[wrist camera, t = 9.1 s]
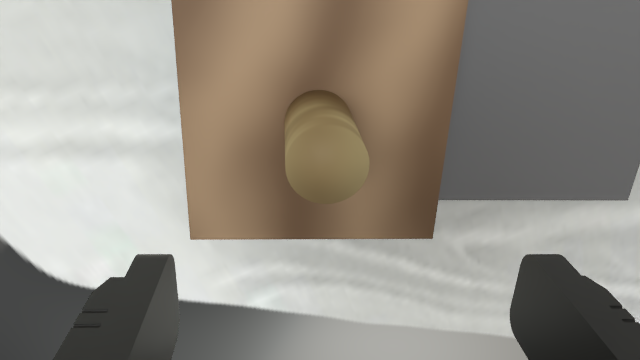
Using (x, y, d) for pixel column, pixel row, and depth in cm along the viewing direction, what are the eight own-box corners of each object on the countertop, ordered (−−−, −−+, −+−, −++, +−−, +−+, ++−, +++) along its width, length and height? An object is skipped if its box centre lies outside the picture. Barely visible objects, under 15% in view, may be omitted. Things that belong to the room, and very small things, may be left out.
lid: (462, -18, 21) (525, -8, 16) (427, 228, 26) (465, 301, 21) (174, -29, 20) (134, -22, 15) (193, 229, 25) (169, 305, 20)
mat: (694, -33, 27) (703, -33, 27) (621, 196, 33) (627, 200, 33) (445, -44, 26) (448, -44, 26) (414, 195, 32) (417, 199, 32)
